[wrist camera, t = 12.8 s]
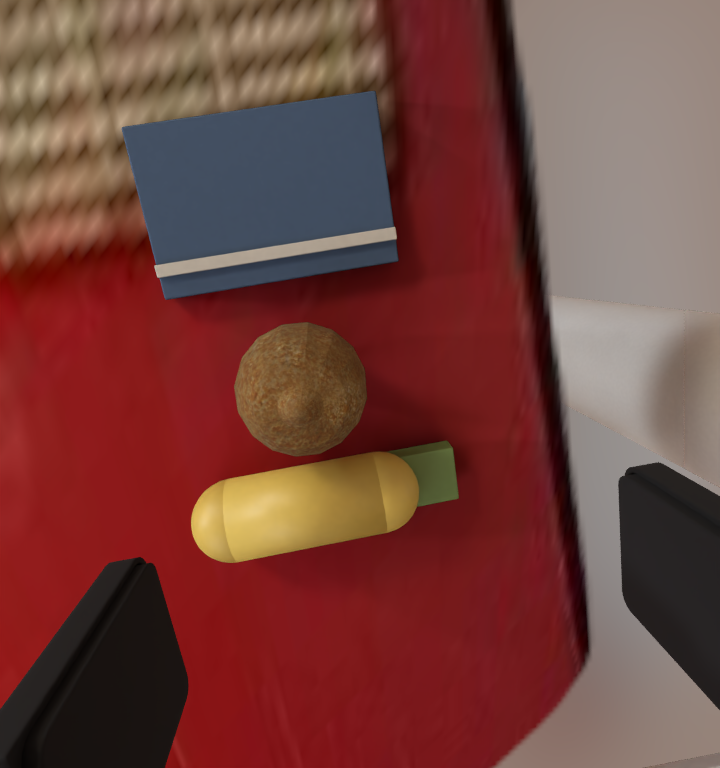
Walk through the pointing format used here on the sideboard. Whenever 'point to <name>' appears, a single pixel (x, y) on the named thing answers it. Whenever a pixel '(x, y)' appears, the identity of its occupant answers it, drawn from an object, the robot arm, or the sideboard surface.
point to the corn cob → (321, 502)
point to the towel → (264, 193)
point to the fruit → (300, 389)
